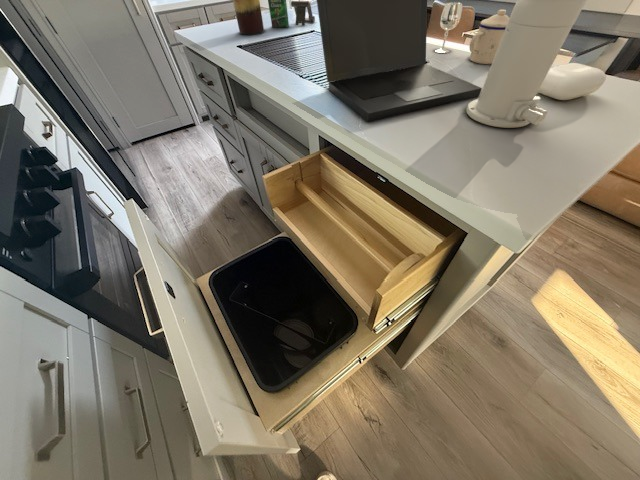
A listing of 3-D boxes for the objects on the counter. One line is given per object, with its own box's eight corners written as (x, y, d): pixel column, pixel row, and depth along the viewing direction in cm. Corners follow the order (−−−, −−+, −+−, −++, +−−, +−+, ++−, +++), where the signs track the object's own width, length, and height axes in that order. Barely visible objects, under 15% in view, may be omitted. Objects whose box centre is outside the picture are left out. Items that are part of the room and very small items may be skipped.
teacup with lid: (485, 54, 85) (502, 6, 76) (508, 61, 79) (529, 10, 71) (454, 59, 82) (468, 10, 74) (475, 68, 77) (493, 15, 68)
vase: (259, 35, 115) (248, -33, 100) (236, 35, 116) (221, -32, 101) (267, 29, 122) (257, -35, 107) (244, 29, 123) (232, -34, 108)
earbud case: (521, 91, 64) (533, 66, 60) (559, 82, 67) (573, 57, 63) (561, 107, 58) (578, 79, 54) (601, 96, 61) (620, 69, 57)
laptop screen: (428, -38, 65) (426, -36, 66) (314, -28, 58) (313, -27, 59) (426, 63, 75) (423, 64, 76) (328, 82, 69) (327, 82, 69)
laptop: (479, 96, 64) (482, 87, 62) (367, 121, 57) (368, 112, 55) (424, 71, 77) (426, 63, 75) (328, 89, 70) (328, 81, 69)
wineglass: (452, 53, 87) (465, 5, 78) (433, 53, 88) (445, 5, 79) (450, 49, 90) (462, 1, 81) (432, 48, 91) (443, 2, 82)
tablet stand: (315, 22, 129) (314, -2, 122) (308, 25, 124) (307, 1, 118) (298, 21, 131) (297, -2, 125) (291, 24, 126) (289, 1, 120)
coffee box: (271, 27, 124) (265, -11, 114) (273, 26, 126) (268, -12, 116) (286, 28, 122) (282, -12, 112) (289, 26, 124) (285, -12, 114)
